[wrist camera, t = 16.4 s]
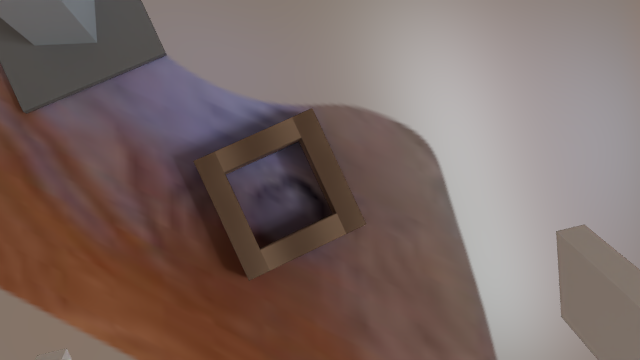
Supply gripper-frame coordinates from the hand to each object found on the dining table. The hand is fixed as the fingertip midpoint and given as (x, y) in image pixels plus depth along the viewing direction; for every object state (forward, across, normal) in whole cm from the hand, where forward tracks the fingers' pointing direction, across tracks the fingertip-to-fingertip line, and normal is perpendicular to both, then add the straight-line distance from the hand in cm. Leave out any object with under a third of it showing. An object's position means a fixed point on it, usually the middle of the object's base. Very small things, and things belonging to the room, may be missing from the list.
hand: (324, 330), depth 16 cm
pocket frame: (+25, -2, -6) cm, 25 cm away
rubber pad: (+30, -13, +8) cm, 33 cm away
